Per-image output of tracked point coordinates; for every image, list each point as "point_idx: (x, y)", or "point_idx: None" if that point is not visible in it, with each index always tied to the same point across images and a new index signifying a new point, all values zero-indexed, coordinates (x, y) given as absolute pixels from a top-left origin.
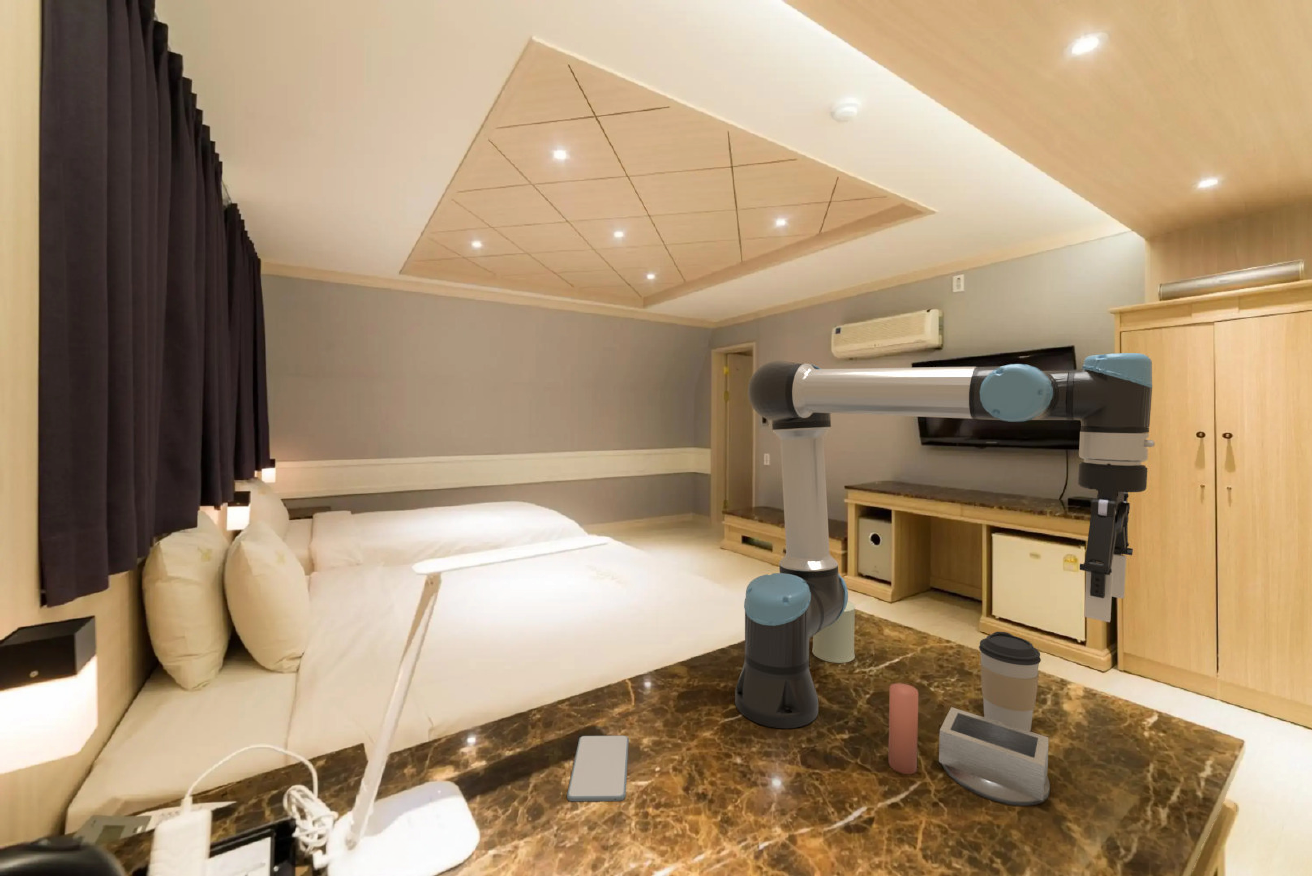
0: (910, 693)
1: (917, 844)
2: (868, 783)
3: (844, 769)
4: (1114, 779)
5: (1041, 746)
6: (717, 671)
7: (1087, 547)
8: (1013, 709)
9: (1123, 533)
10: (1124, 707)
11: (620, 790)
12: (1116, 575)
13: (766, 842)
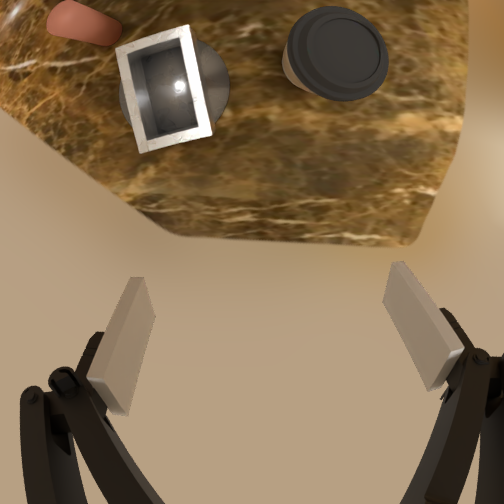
0: (58, 28)
1: (32, 109)
2: (61, 38)
3: None
4: (271, 178)
5: (180, 136)
6: None
7: (23, 448)
8: (287, 74)
9: (412, 480)
10: (443, 169)
11: None
12: (409, 330)
13: None
